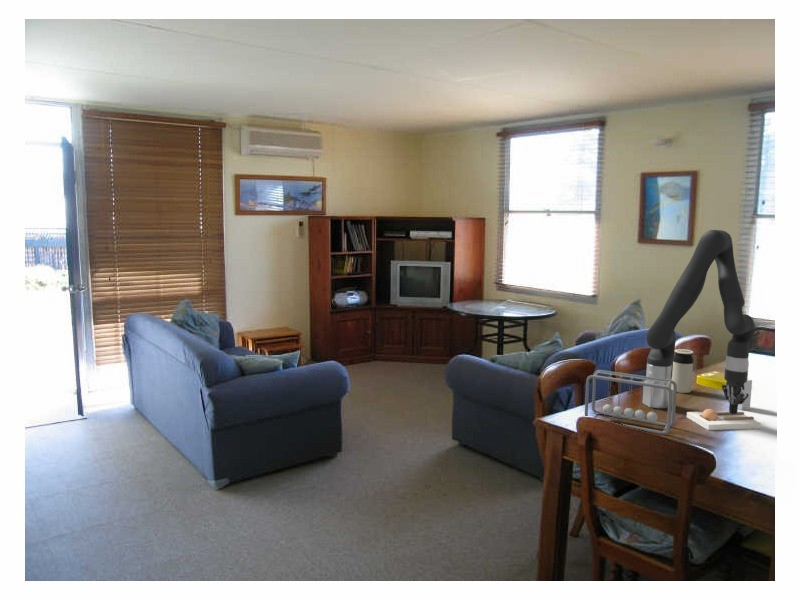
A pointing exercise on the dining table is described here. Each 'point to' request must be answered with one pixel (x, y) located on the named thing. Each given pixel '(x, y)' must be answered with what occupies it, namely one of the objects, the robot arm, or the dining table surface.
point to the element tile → (712, 380)
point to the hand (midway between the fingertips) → (733, 413)
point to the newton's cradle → (628, 411)
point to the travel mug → (682, 370)
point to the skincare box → (747, 402)
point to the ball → (709, 415)
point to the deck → (725, 421)
